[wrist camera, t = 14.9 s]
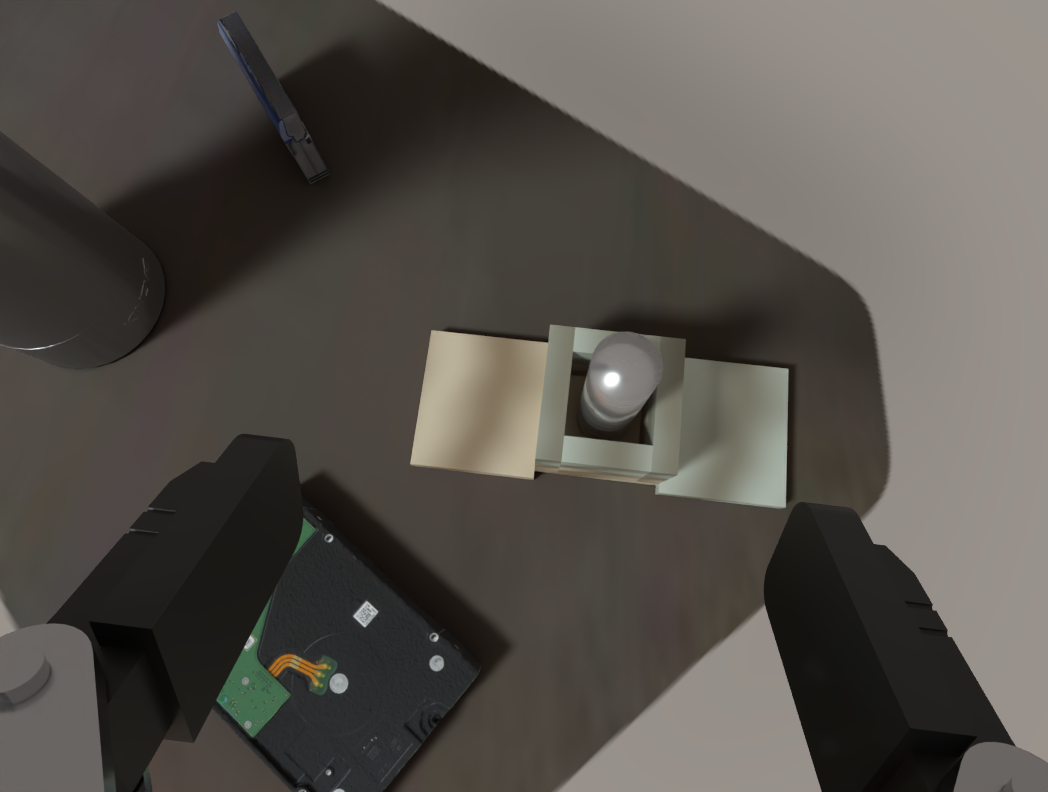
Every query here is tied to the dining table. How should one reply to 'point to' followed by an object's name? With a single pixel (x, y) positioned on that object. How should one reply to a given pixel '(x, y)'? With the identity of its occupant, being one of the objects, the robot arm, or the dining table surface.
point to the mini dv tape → (272, 97)
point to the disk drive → (341, 671)
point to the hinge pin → (618, 384)
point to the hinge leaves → (561, 447)
